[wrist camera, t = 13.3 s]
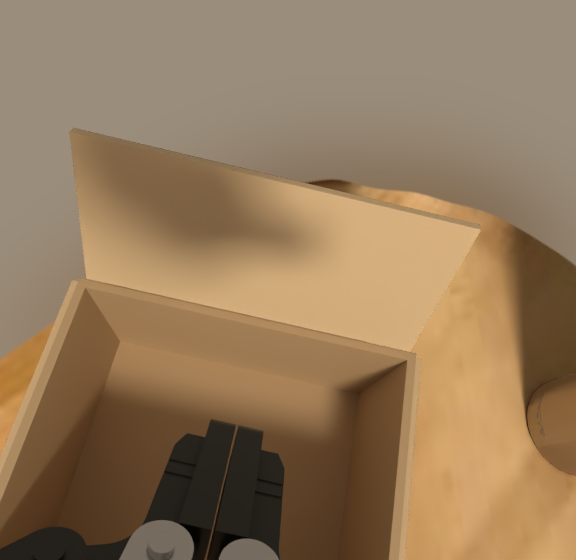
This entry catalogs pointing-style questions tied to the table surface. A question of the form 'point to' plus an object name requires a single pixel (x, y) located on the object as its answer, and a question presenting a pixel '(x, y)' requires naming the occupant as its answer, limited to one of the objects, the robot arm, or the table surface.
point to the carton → (196, 417)
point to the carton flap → (261, 242)
